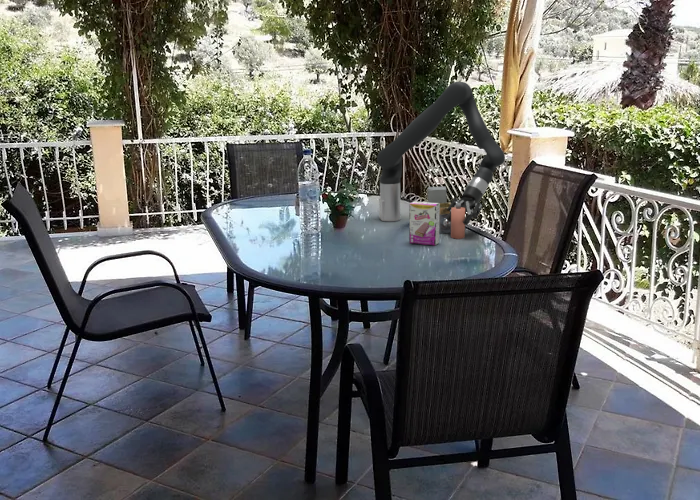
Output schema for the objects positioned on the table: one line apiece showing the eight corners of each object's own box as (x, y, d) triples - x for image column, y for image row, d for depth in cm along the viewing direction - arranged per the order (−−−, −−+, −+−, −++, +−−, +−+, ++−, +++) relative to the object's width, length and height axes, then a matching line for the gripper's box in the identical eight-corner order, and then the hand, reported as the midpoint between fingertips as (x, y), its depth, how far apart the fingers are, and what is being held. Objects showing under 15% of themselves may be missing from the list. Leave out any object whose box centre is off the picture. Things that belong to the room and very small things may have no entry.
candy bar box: (408, 243, 259) (408, 203, 254) (413, 240, 263) (413, 200, 259) (435, 246, 254) (436, 205, 250) (439, 243, 259) (440, 202, 254)
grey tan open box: (434, 235, 271) (435, 210, 268) (423, 226, 287) (423, 202, 284) (460, 233, 273) (460, 208, 270) (447, 224, 288) (448, 201, 286)
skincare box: (446, 220, 297) (446, 185, 292) (446, 223, 290) (447, 188, 285) (427, 220, 297) (427, 186, 293) (427, 223, 291) (428, 188, 286)
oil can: (453, 239, 264) (454, 205, 260) (449, 235, 269) (449, 202, 265) (466, 238, 265) (467, 204, 261) (461, 234, 270) (462, 201, 266)
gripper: (457, 183, 272) (438, 214, 268) (485, 187, 261) (465, 219, 257) (465, 193, 276) (447, 224, 272) (492, 198, 266) (474, 230, 262)
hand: (456, 222), depth 265 cm, fingers open, 8 cm apart
